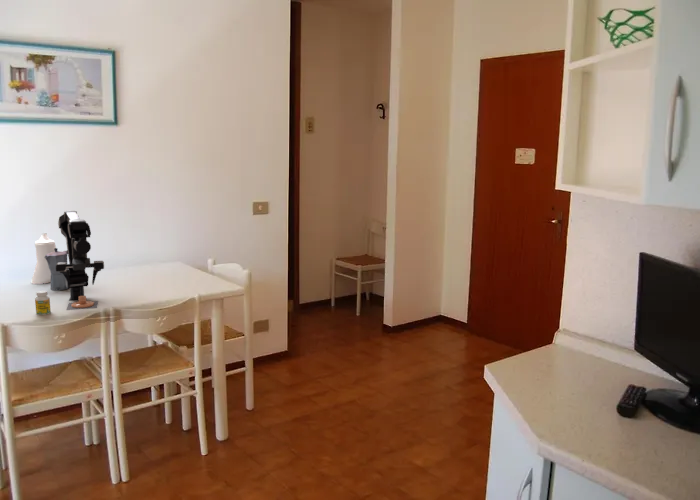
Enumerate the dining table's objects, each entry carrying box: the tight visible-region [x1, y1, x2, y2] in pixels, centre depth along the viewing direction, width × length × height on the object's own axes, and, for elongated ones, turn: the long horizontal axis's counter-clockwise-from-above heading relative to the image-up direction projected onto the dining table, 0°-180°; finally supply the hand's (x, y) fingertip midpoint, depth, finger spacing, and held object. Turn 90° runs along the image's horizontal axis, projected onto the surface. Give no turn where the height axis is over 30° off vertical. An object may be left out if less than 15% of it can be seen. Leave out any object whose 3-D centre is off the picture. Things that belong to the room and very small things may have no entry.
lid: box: [71, 295, 94, 308], centre depth 260 cm, size 9×9×4 cm
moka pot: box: [44, 247, 69, 291], centre depth 290 cm, size 10×15×20 cm, turn 158°
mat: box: [66, 300, 99, 311], centre depth 260 cm, size 12×12×1 cm
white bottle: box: [30, 232, 57, 285], centre depth 301 cm, size 12×11×25 cm
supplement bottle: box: [34, 290, 52, 316], centre depth 247 cm, size 5×5×10 cm
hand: (81, 285), depth 259 cm, fingers open, 9 cm apart
